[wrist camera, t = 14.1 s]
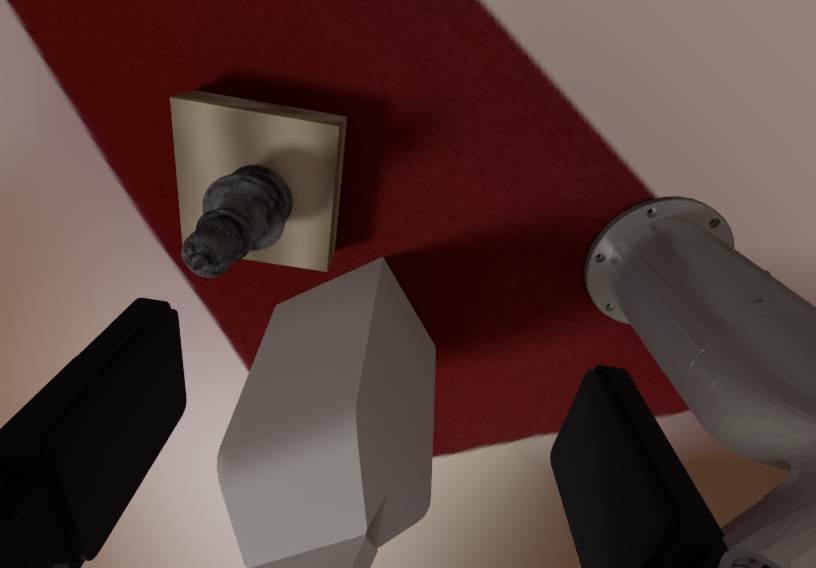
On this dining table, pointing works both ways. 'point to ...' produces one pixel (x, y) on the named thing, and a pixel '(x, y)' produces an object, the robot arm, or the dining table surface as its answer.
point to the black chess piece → (237, 219)
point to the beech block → (269, 147)
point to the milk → (332, 427)
